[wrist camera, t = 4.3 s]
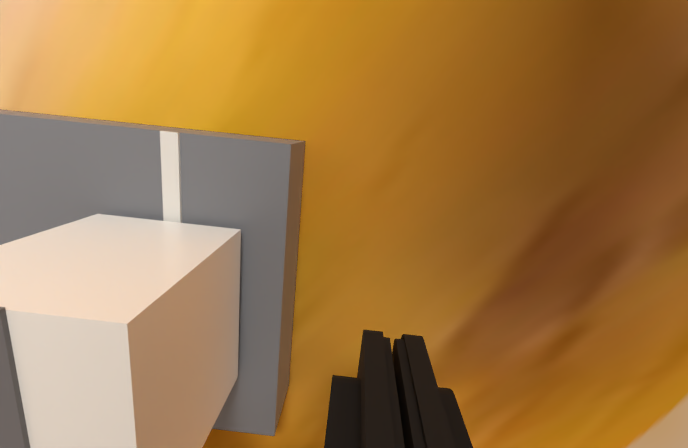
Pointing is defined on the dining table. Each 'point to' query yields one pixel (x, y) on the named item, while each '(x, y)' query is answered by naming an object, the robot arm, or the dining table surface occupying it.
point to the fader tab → (117, 333)
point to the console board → (175, 217)
